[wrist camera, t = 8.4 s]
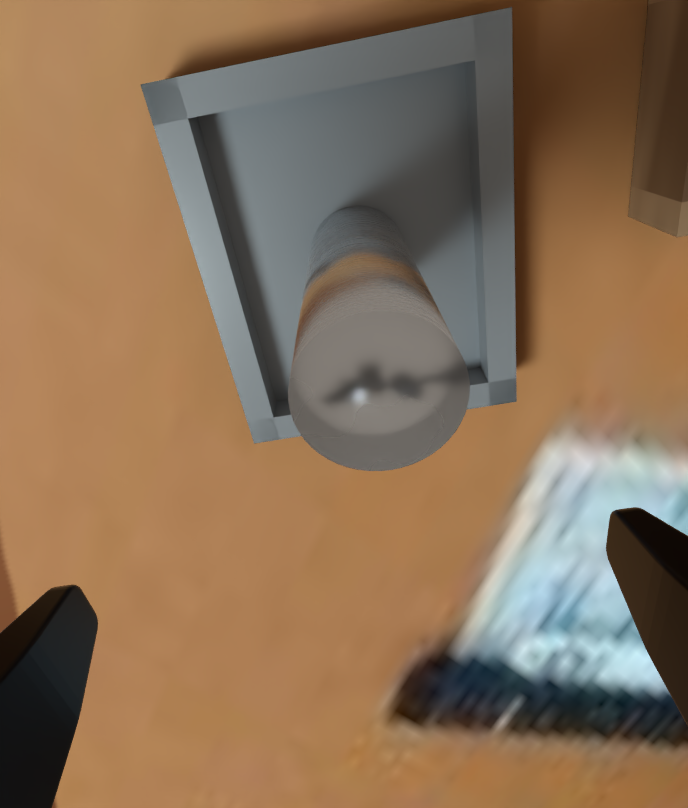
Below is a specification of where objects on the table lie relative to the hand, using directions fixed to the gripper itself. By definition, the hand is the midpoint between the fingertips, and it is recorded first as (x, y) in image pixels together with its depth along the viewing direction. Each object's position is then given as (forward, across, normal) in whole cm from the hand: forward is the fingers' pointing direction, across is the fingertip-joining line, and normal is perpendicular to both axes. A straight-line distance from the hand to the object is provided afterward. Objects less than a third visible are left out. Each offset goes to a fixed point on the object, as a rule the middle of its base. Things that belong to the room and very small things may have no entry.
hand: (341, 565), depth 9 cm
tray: (+13, -1, -2) cm, 13 cm away
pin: (+12, -1, -2) cm, 12 cm away
